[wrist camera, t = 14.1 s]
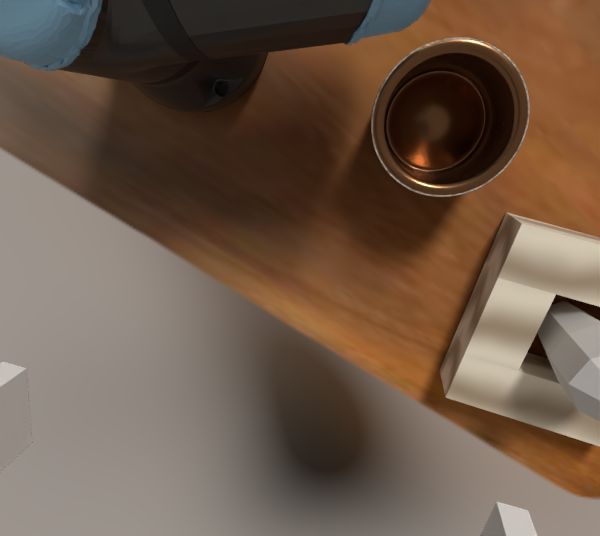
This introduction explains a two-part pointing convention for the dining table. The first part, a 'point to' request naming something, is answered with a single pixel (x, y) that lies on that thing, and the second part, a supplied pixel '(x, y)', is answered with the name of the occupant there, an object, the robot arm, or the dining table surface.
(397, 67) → the planter
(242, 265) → the dining table surface
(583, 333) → the low poly bottle
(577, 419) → the socket block
